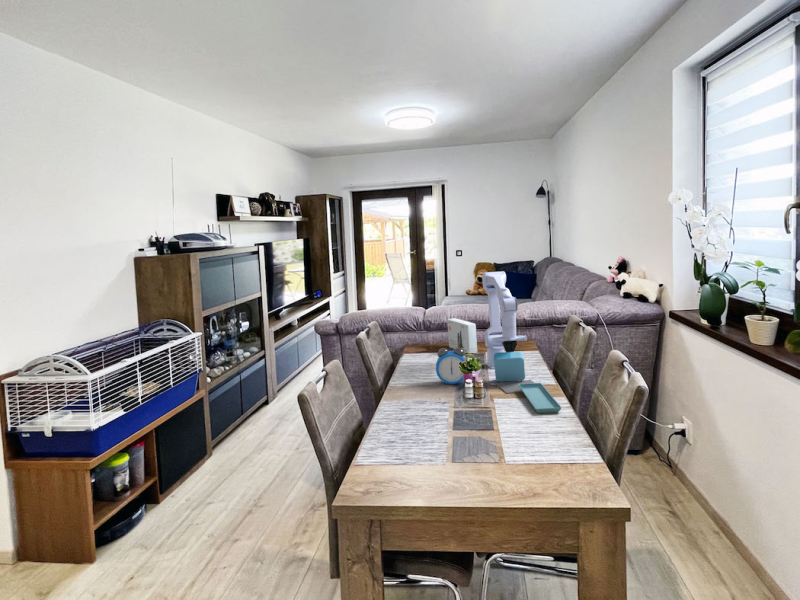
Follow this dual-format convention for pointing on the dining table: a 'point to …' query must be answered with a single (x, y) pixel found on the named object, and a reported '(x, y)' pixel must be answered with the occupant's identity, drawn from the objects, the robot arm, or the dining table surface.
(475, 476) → the dining table surface
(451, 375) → the alarm clock
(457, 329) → the skincare box
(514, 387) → the mat
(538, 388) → the teal serving tray
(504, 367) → the data package
